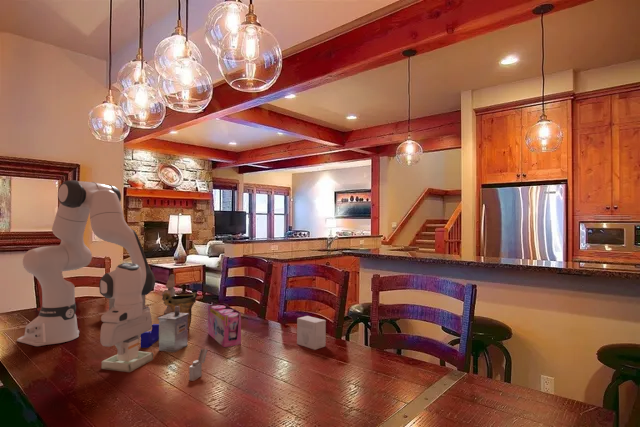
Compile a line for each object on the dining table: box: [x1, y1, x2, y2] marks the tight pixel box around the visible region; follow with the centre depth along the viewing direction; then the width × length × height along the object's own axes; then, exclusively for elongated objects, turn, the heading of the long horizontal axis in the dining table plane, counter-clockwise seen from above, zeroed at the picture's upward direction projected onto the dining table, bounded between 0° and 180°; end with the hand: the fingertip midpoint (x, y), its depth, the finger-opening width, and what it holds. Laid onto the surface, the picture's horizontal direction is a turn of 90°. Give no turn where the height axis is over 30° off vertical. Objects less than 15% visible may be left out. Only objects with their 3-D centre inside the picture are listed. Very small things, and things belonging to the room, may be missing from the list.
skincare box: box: [296, 315, 327, 351], centre depth 149 cm, size 10×6×10 cm, turn 47°
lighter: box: [188, 348, 208, 382], centre depth 119 cm, size 7×2×8 cm, turn 162°
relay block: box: [116, 336, 140, 362], centre depth 129 cm, size 5×5×7 cm
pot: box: [161, 291, 198, 331], centre depth 168 cm, size 17×11×18 cm, turn 143°
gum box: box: [207, 302, 242, 348], centre depth 156 cm, size 22×7×13 cm, turn 34°
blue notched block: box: [140, 323, 159, 349], centre depth 151 cm, size 12×4×6 cm, turn 2°
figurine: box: [161, 273, 176, 315], centre depth 200 cm, size 9×8×20 cm
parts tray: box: [101, 350, 154, 373], centre depth 129 cm, size 11×11×2 cm
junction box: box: [157, 306, 189, 353], centre depth 145 cm, size 8×9×16 cm
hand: (128, 350), depth 129 cm, fingers closed on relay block, 5 cm apart
